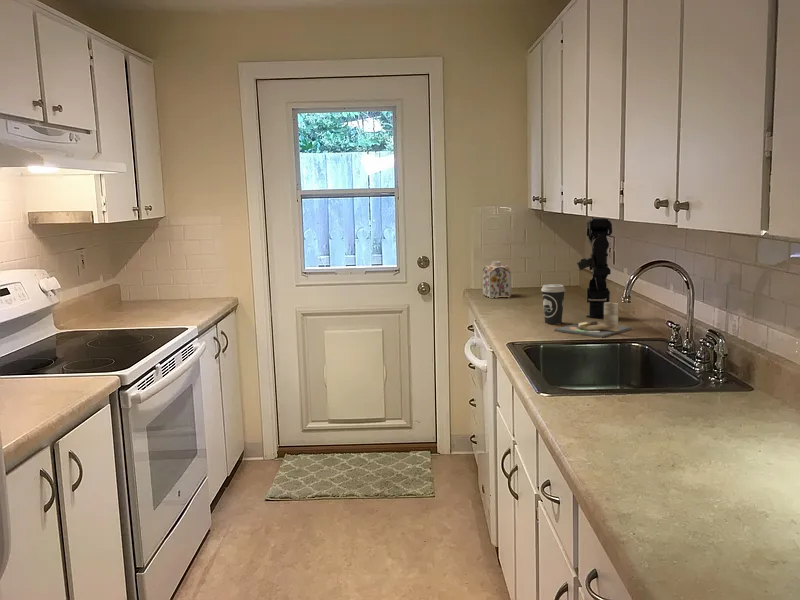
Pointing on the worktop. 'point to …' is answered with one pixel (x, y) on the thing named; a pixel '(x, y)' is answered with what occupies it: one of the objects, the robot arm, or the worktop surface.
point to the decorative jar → (496, 280)
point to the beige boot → (609, 319)
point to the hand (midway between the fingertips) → (599, 290)
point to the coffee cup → (553, 303)
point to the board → (597, 333)
